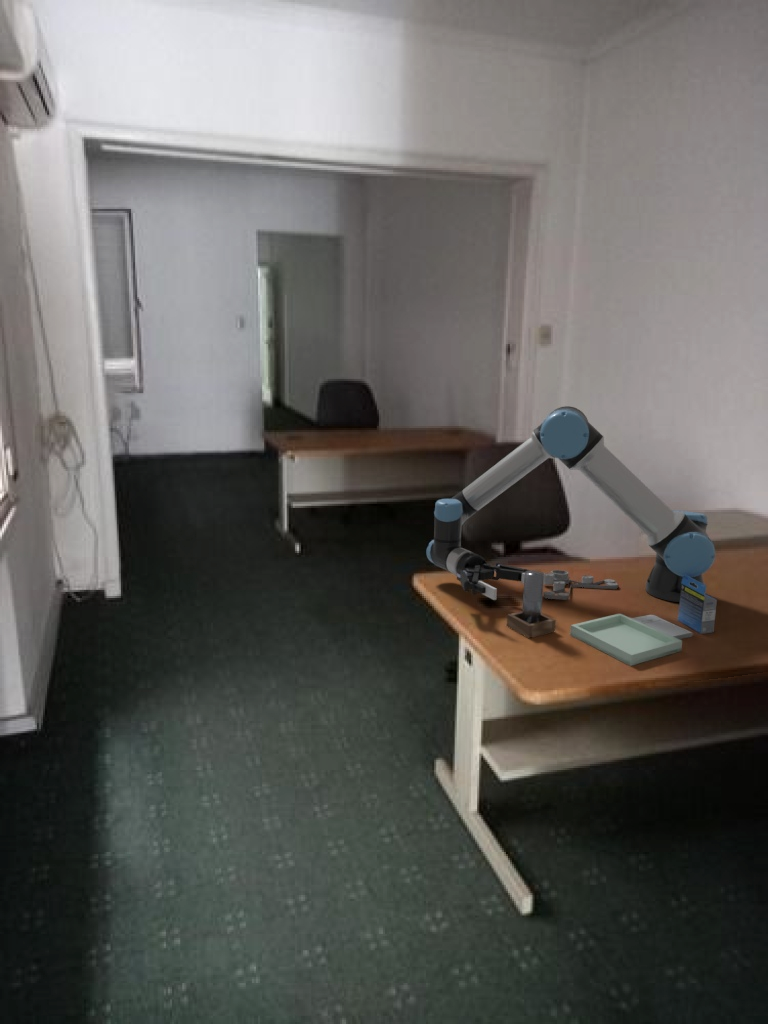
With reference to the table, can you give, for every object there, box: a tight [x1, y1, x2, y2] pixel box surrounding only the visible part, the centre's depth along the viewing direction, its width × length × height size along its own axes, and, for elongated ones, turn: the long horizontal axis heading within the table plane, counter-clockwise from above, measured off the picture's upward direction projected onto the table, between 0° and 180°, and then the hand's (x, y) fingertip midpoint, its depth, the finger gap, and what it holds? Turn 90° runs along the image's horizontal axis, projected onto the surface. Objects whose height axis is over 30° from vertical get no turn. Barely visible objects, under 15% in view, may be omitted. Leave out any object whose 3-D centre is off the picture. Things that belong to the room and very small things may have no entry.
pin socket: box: [506, 611, 556, 639], centre depth 166 cm, size 8×8×3 cm
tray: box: [569, 612, 683, 667], centre depth 159 cm, size 16×18×2 cm
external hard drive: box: [631, 614, 694, 640], centre depth 168 cm, size 2×8×12 cm
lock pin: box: [522, 569, 545, 624], centre depth 165 cm, size 4×4×14 cm
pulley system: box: [542, 569, 619, 601], centre depth 195 cm, size 27×5×15 cm
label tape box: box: [677, 574, 718, 634], centre depth 168 cm, size 9×4×12 cm, turn 14°
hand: (518, 590), depth 168 cm, fingers open, 13 cm apart
